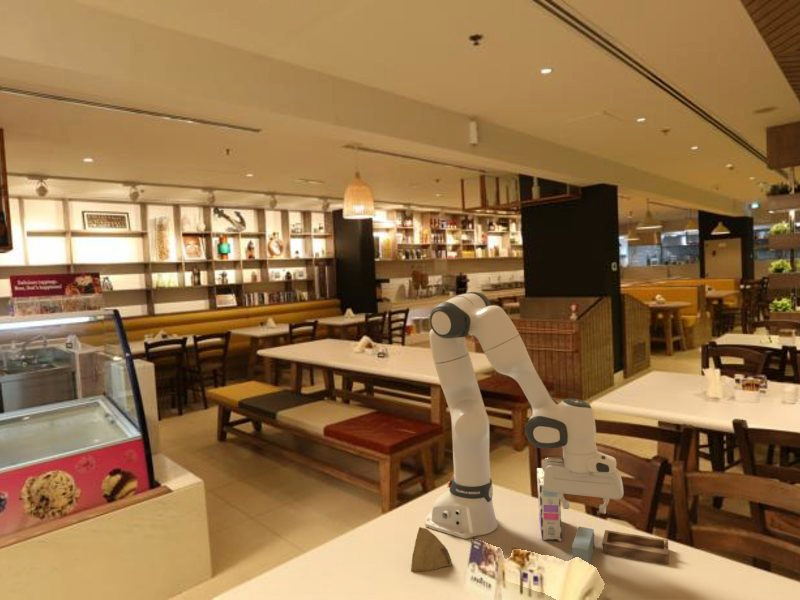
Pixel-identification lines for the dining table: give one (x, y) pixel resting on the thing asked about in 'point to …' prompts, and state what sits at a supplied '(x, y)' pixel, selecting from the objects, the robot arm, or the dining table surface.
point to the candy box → (548, 511)
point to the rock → (429, 552)
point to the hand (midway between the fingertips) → (584, 510)
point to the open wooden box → (635, 546)
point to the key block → (583, 544)
